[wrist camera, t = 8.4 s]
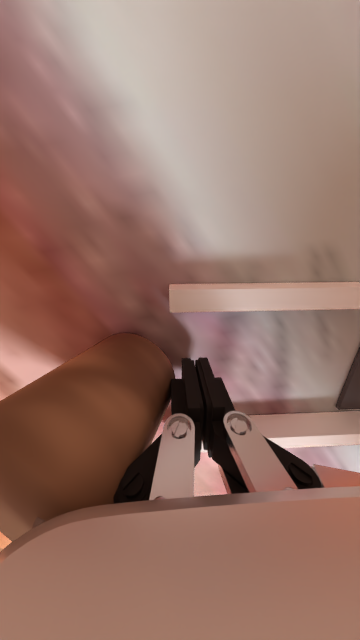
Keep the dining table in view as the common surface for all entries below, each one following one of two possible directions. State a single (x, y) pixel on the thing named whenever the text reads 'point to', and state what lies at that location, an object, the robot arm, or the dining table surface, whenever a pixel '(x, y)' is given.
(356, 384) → the trap pad
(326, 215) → the dining table surface
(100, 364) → the brown cylinder
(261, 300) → the channel
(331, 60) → the dining table surface
